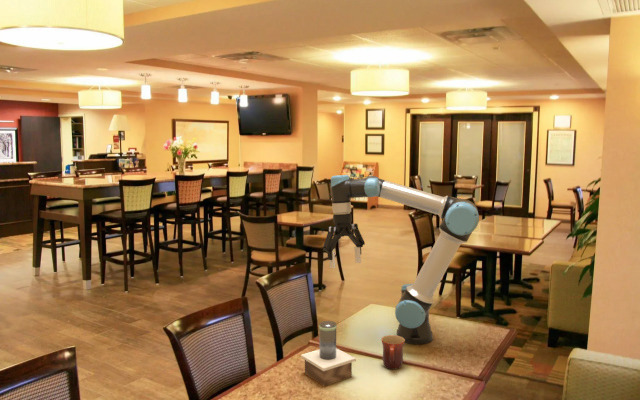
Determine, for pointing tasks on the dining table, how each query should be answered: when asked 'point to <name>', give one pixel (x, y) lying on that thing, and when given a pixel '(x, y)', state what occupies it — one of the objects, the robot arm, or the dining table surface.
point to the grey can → (327, 340)
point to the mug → (392, 351)
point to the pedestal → (328, 367)
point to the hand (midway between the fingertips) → (345, 265)
